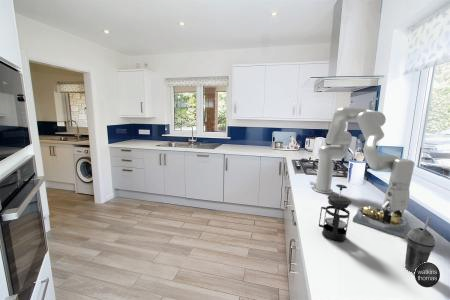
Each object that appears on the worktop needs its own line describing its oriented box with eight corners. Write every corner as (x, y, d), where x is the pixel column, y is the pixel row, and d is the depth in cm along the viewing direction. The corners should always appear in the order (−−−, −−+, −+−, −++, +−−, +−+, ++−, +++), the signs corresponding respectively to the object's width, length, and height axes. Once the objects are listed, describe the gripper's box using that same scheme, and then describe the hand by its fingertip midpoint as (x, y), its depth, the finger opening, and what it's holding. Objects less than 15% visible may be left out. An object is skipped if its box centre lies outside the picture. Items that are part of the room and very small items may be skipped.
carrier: (352, 221, 109) (354, 207, 107) (361, 209, 123) (363, 197, 122) (403, 238, 95) (406, 222, 94) (406, 222, 110) (409, 209, 109)
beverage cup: (394, 263, 78) (405, 211, 75) (413, 262, 79) (425, 211, 75) (413, 278, 71) (426, 222, 68) (433, 278, 72) (447, 222, 68)
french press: (347, 234, 96) (355, 184, 92) (348, 245, 88) (357, 191, 84) (318, 226, 101) (325, 179, 97) (317, 236, 93) (324, 185, 89)
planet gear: (392, 228, 101) (394, 218, 100) (381, 222, 106) (382, 212, 105) (401, 226, 102) (403, 216, 101) (389, 220, 108) (391, 211, 107)
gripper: (393, 189, 94) (386, 227, 98) (420, 187, 100) (412, 223, 103) (377, 183, 101) (370, 219, 105) (403, 181, 107) (396, 215, 110)
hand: (391, 220), depth 104 cm, fingers open, 6 cm apart
